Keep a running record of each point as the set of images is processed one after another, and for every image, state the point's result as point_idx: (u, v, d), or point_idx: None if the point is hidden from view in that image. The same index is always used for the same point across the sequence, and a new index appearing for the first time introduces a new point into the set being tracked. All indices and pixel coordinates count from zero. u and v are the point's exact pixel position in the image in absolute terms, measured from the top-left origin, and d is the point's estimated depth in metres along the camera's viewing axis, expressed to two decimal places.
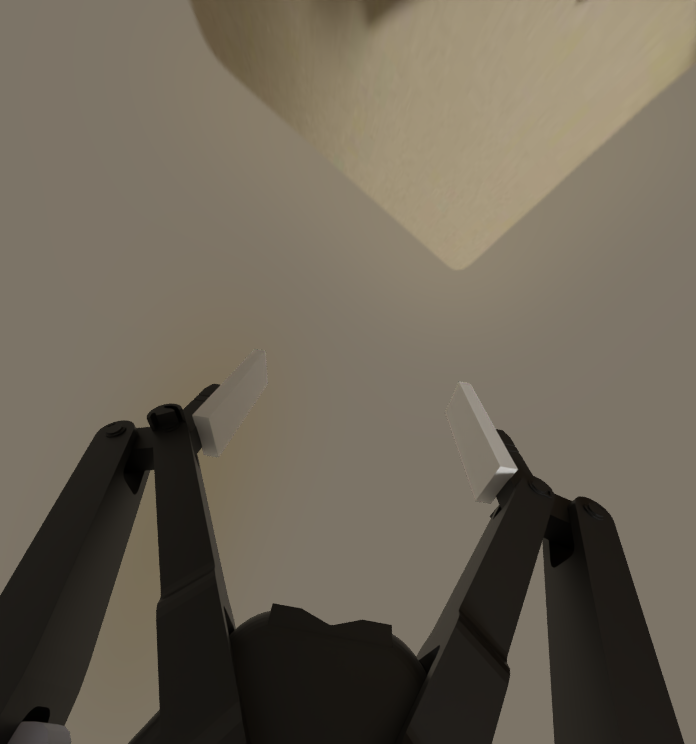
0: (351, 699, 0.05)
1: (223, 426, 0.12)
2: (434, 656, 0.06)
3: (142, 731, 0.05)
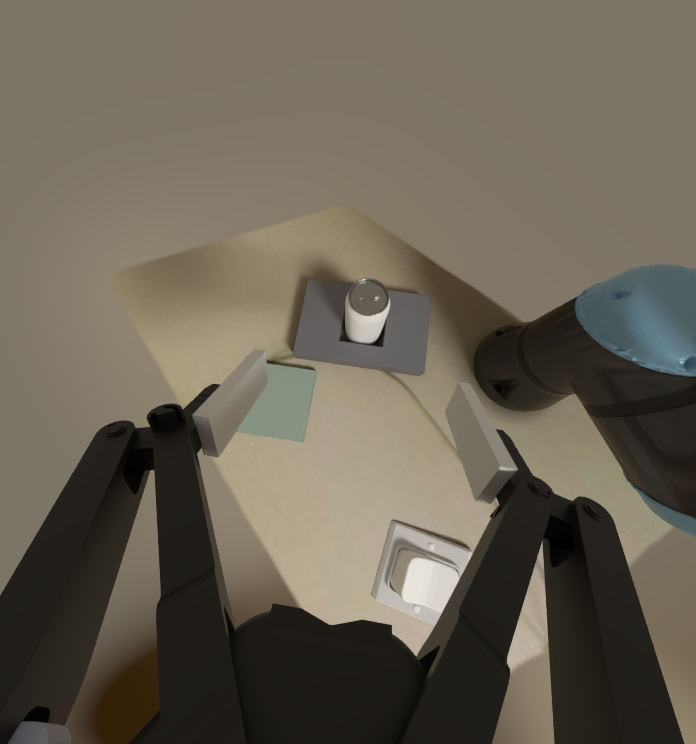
0: (351, 699, 0.05)
1: (223, 426, 0.12)
2: (434, 656, 0.06)
3: (142, 731, 0.05)
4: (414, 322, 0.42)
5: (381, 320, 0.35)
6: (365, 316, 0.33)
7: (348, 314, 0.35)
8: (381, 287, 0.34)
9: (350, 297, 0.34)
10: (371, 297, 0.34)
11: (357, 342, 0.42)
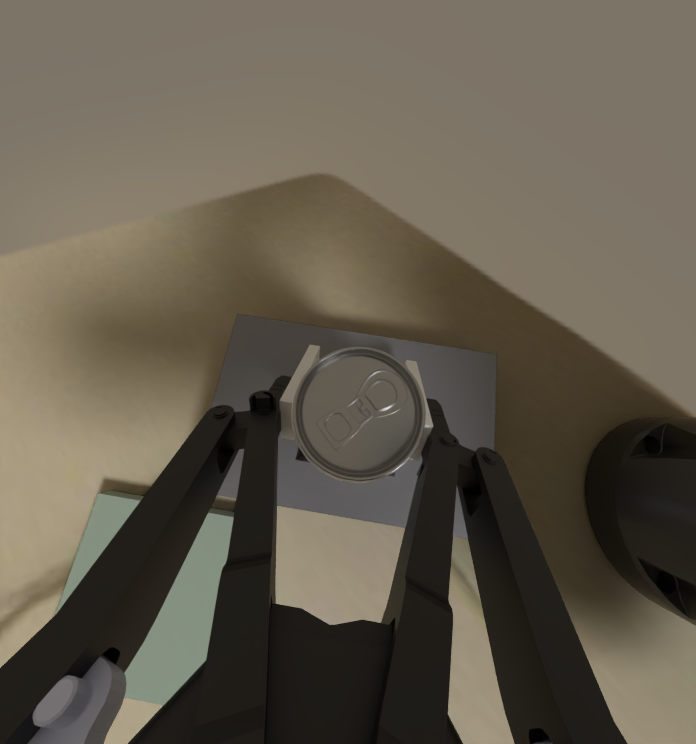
0: (351, 699, 0.05)
1: None
2: (392, 627, 0.07)
3: (142, 731, 0.05)
4: (464, 414, 0.19)
5: None
6: None
7: None
8: (399, 374, 0.11)
9: (301, 408, 0.11)
10: (368, 407, 0.11)
11: None
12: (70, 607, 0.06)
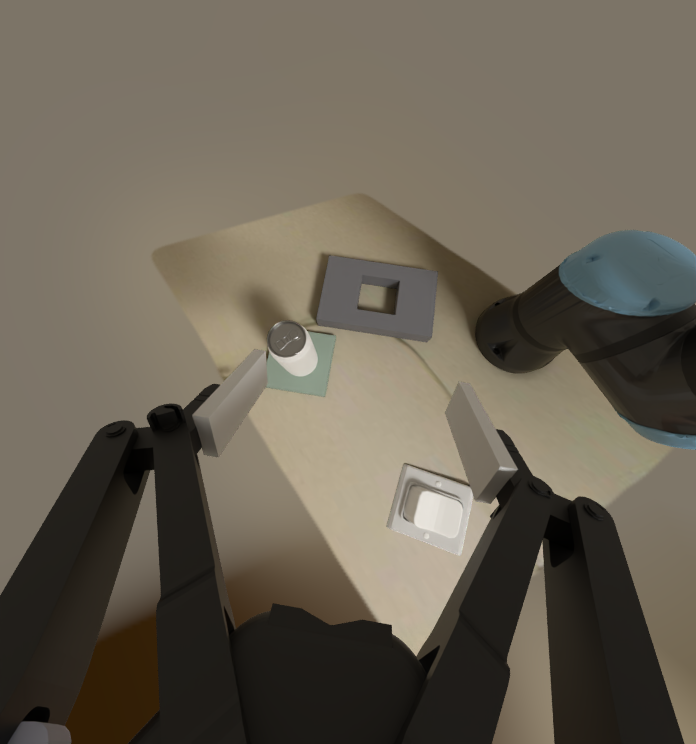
0: (351, 699, 0.05)
1: (223, 426, 0.12)
2: (434, 656, 0.06)
3: (142, 731, 0.05)
4: (423, 293, 0.48)
5: (301, 359, 0.37)
6: (282, 357, 0.35)
7: (270, 353, 0.37)
8: (300, 328, 0.36)
9: (269, 338, 0.35)
10: (289, 338, 0.35)
11: (292, 373, 0.44)
12: None
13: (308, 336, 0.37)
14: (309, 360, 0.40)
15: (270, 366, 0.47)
